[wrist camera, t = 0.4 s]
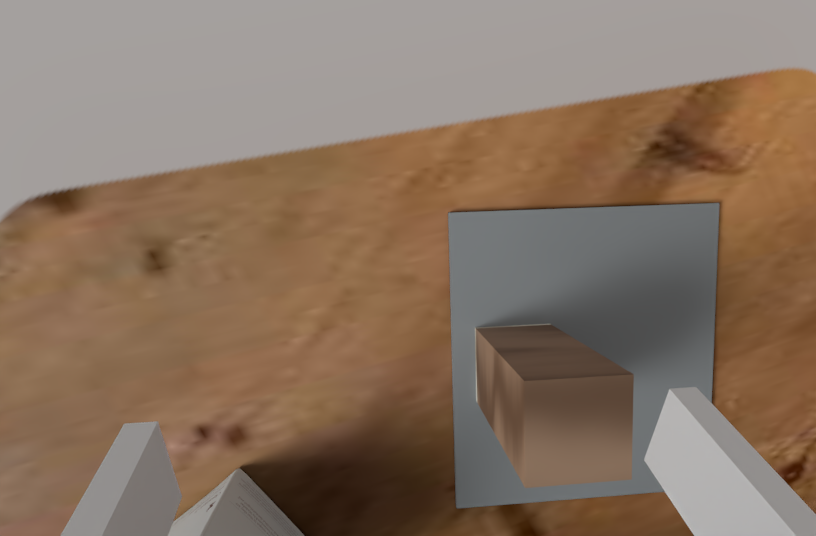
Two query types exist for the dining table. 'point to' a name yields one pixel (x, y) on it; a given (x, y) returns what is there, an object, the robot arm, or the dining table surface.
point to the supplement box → (235, 512)
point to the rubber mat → (582, 318)
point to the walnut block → (555, 405)
